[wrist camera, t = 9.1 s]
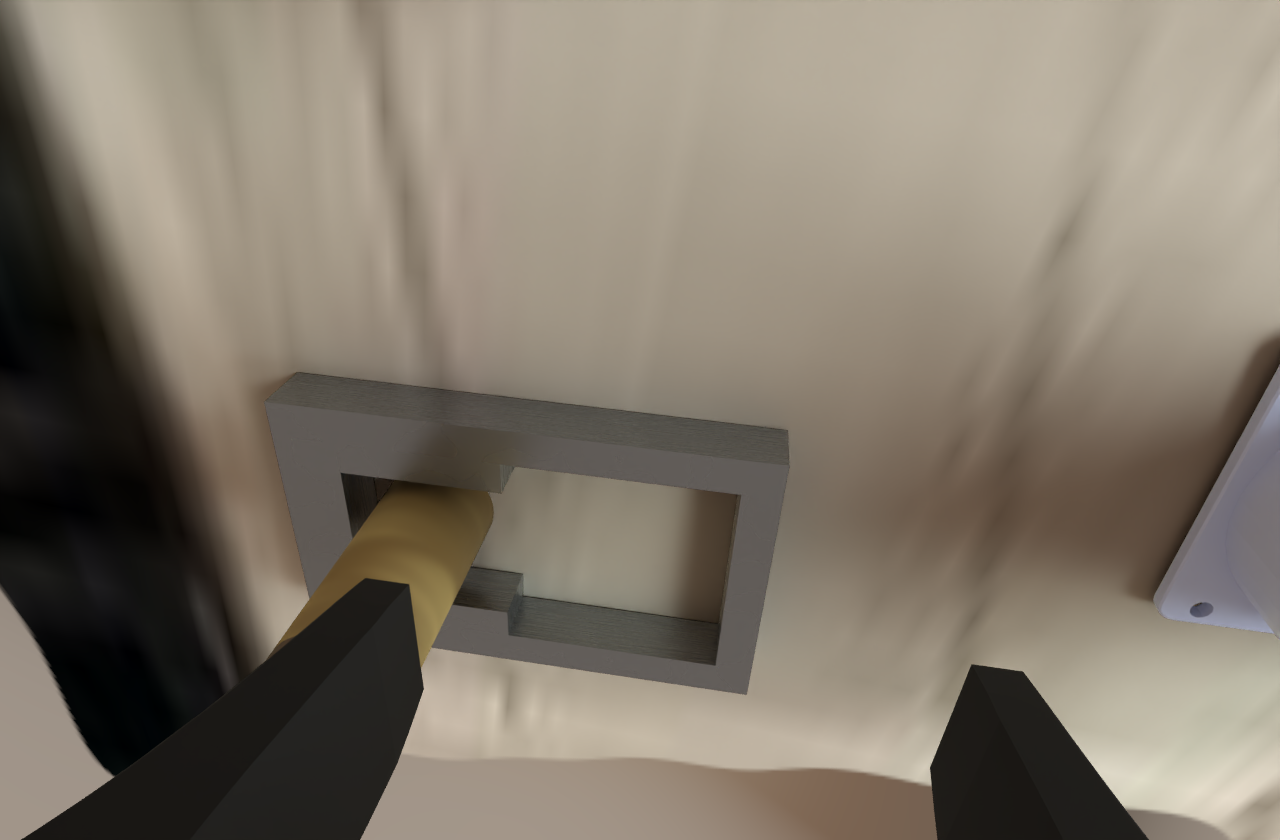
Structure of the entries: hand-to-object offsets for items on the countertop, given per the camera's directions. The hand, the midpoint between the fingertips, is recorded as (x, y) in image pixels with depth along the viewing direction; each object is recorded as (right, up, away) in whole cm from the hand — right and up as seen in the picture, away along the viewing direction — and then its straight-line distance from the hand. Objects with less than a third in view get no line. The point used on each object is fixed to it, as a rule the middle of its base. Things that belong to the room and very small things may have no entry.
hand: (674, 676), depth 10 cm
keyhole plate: (-3, 0, +12) cm, 12 cm away
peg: (-6, +1, +12) cm, 14 cm away
